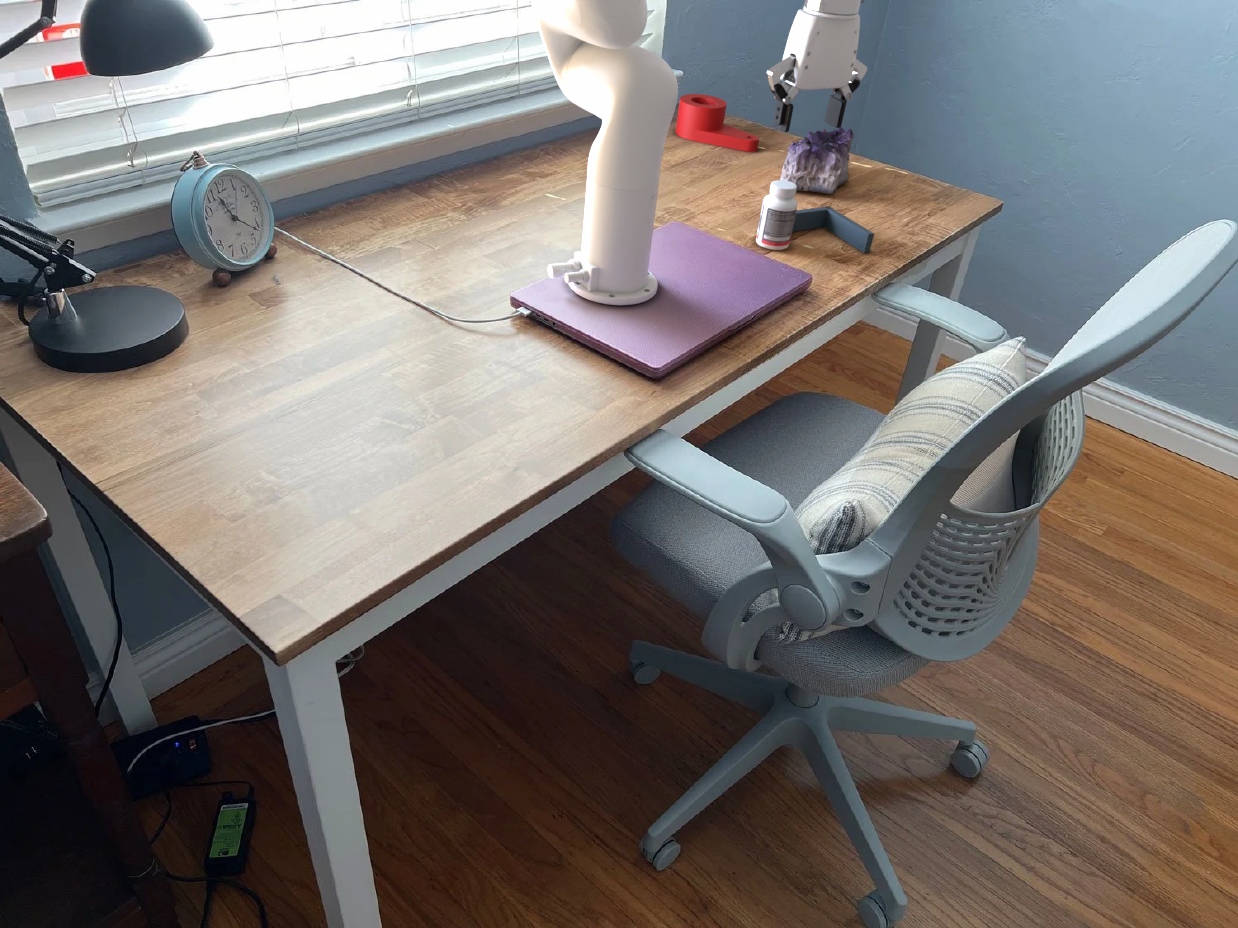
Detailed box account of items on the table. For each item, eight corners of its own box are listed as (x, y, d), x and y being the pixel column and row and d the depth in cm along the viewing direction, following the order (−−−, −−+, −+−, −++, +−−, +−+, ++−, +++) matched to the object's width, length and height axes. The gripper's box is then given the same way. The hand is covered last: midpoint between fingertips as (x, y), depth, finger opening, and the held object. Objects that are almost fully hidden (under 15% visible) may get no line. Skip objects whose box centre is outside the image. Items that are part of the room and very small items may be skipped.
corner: (804, 262, 147) (808, 243, 145) (761, 232, 155) (764, 214, 153) (869, 252, 153) (874, 233, 151) (824, 224, 161) (829, 206, 159)
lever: (667, 133, 193) (671, 100, 189) (689, 124, 199) (694, 91, 195) (746, 156, 186) (752, 122, 182) (766, 146, 192) (772, 112, 188)
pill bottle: (795, 248, 151) (808, 188, 145) (770, 253, 149) (782, 192, 143) (773, 235, 155) (785, 176, 149) (748, 240, 152) (759, 180, 146)
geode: (798, 159, 187) (816, 109, 182) (853, 181, 185) (873, 131, 179) (767, 184, 172) (786, 130, 166) (826, 208, 169) (847, 154, 163)
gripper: (863, -5, 137) (836, 116, 147) (765, -4, 130) (744, 123, 140) (898, 7, 132) (867, 131, 142) (798, 9, 125) (774, 140, 135)
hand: (806, 127), depth 141 cm, fingers open, 9 cm apart
